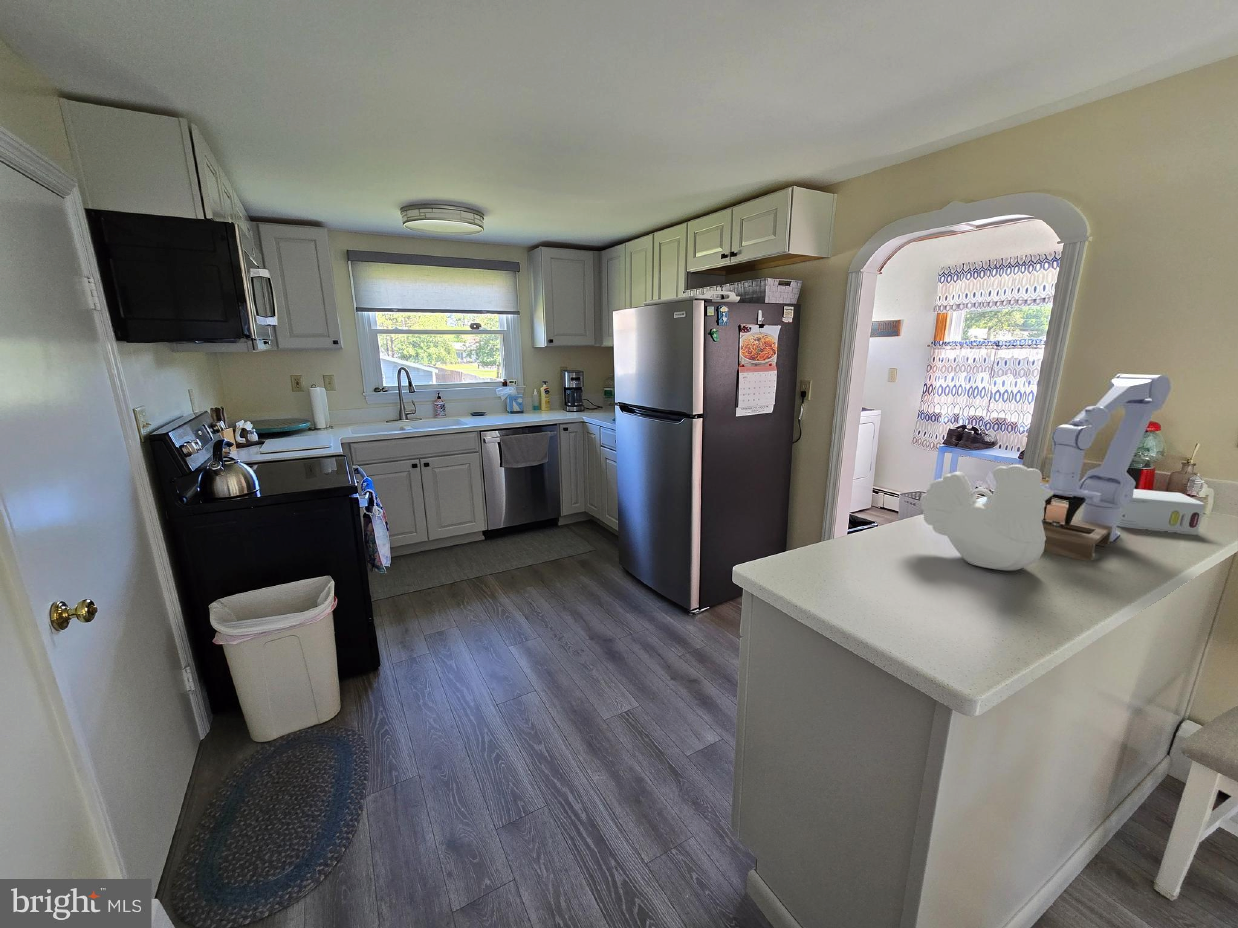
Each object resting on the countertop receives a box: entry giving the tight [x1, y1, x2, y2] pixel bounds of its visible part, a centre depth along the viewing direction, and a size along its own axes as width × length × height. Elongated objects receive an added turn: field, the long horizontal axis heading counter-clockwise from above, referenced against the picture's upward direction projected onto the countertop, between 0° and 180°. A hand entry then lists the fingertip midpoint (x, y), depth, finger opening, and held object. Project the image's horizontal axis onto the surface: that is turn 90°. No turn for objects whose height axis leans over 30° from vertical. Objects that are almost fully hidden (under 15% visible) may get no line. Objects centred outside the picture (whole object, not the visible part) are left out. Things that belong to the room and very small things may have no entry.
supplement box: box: [1117, 488, 1206, 536], centre depth 145 cm, size 17×13×9 cm
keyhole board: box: [1042, 518, 1113, 562], centre depth 131 cm, size 18×16×5 cm
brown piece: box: [1045, 501, 1068, 526], centre depth 131 cm, size 4×4×8 cm
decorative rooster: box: [919, 464, 1055, 571], centre depth 119 cm, size 25×16×25 cm, turn 29°
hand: (1056, 521), depth 131 cm, fingers closed on brown piece, 4 cm apart
